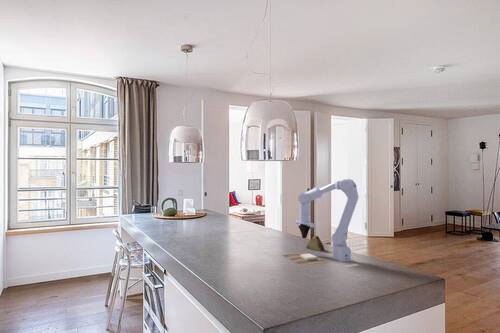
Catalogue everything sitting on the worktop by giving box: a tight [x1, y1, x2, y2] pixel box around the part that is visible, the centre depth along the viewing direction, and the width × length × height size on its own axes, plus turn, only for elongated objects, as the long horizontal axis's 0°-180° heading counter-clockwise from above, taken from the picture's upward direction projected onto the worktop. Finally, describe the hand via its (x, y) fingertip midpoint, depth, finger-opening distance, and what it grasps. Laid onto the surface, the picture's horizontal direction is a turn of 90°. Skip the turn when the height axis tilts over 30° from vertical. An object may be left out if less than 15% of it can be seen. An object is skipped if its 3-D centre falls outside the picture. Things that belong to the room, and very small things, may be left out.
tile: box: [300, 253, 317, 261], centre depth 177 cm, size 2×6×7 cm
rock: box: [306, 235, 326, 252], centre depth 200 cm, size 11×9×10 cm
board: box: [281, 251, 329, 266], centre depth 177 cm, size 22×16×1 cm
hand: (304, 238), depth 188 cm, fingers closed
